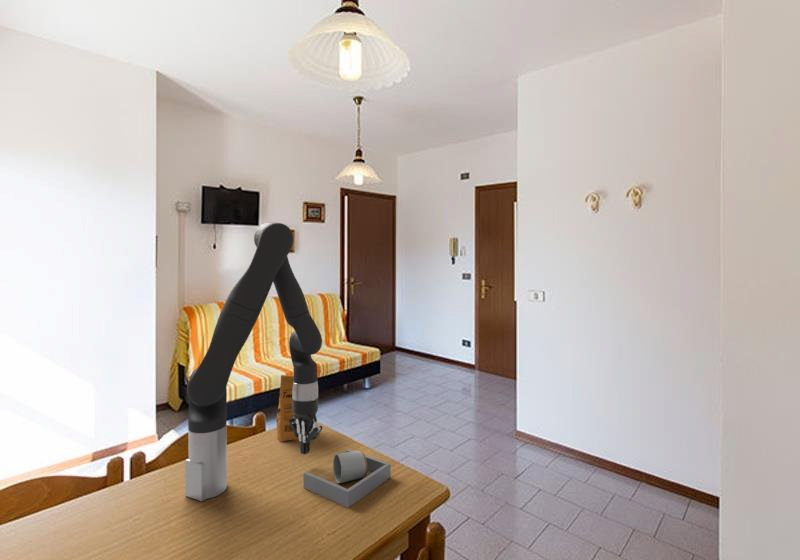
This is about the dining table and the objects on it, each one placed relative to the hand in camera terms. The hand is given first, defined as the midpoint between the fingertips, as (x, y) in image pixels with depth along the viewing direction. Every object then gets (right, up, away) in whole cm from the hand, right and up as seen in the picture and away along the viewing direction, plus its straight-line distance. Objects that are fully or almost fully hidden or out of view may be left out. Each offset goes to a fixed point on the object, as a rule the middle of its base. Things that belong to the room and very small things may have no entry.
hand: (305, 453), depth 123 cm
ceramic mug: (+14, -5, -6) cm, 15 cm away
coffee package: (-9, -3, +22) cm, 24 cm away
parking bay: (+14, -4, -9) cm, 17 cm away
